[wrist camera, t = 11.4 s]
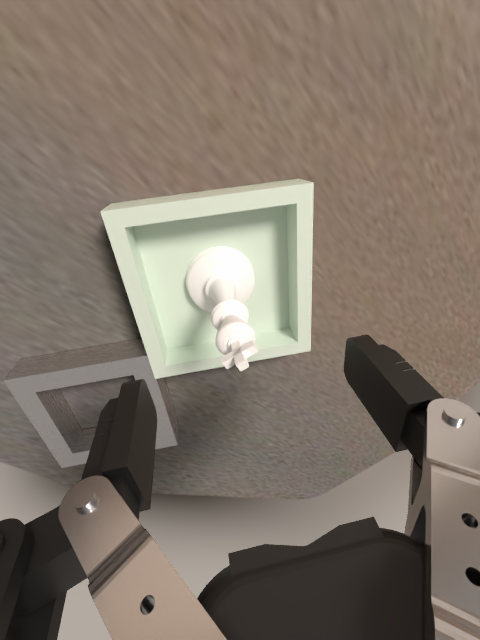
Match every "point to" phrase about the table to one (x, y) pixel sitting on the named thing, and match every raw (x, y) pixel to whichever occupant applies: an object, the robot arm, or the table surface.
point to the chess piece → (225, 300)
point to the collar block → (79, 368)
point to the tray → (206, 232)
